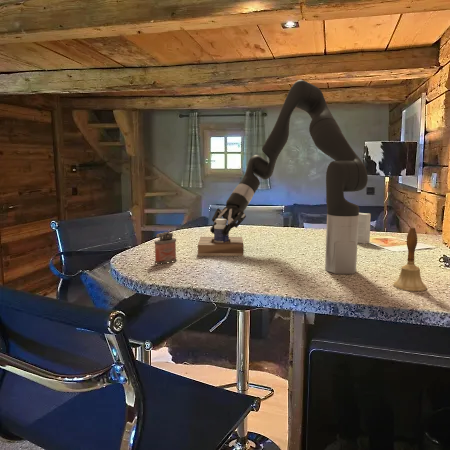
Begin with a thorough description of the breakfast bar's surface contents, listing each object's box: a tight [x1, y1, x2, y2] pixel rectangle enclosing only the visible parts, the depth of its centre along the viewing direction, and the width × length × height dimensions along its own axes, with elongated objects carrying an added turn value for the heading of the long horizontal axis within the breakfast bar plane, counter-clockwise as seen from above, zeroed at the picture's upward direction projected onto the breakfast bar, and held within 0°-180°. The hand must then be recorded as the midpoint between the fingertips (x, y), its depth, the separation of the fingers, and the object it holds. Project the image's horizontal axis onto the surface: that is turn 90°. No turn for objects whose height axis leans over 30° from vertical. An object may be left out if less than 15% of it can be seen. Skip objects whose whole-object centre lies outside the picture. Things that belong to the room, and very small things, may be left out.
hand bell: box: [392, 227, 428, 292], centre depth 113 cm, size 8×8×16 cm
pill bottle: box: [213, 218, 230, 243], centre depth 157 cm, size 5×5×10 cm
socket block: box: [197, 236, 245, 257], centre depth 158 cm, size 16×16×4 cm
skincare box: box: [357, 212, 372, 245], centre depth 175 cm, size 6×4×12 cm
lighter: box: [153, 231, 177, 265], centre depth 140 cm, size 8×3×10 cm, turn 135°
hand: (217, 233), depth 156 cm, fingers closed on pill bottle, 5 cm apart
